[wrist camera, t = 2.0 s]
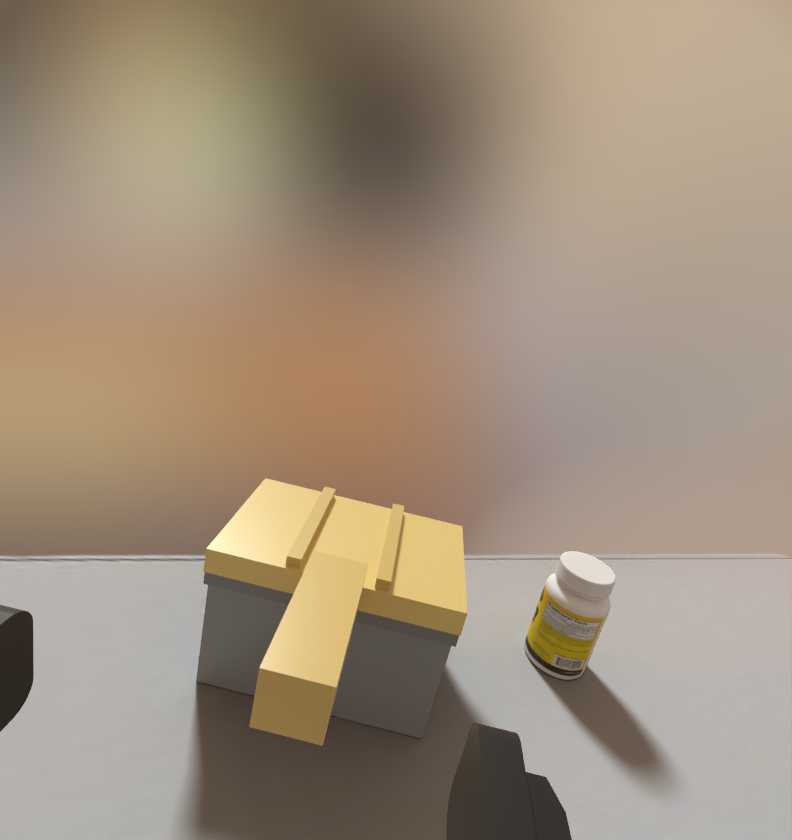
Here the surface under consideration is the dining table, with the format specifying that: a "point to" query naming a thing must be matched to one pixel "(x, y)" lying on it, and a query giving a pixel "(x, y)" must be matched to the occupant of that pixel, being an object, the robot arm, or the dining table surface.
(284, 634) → the lid
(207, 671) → the grey box
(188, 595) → the dining table surface
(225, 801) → the dining table surface
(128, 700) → the dining table surface
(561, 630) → the supplement bottle
